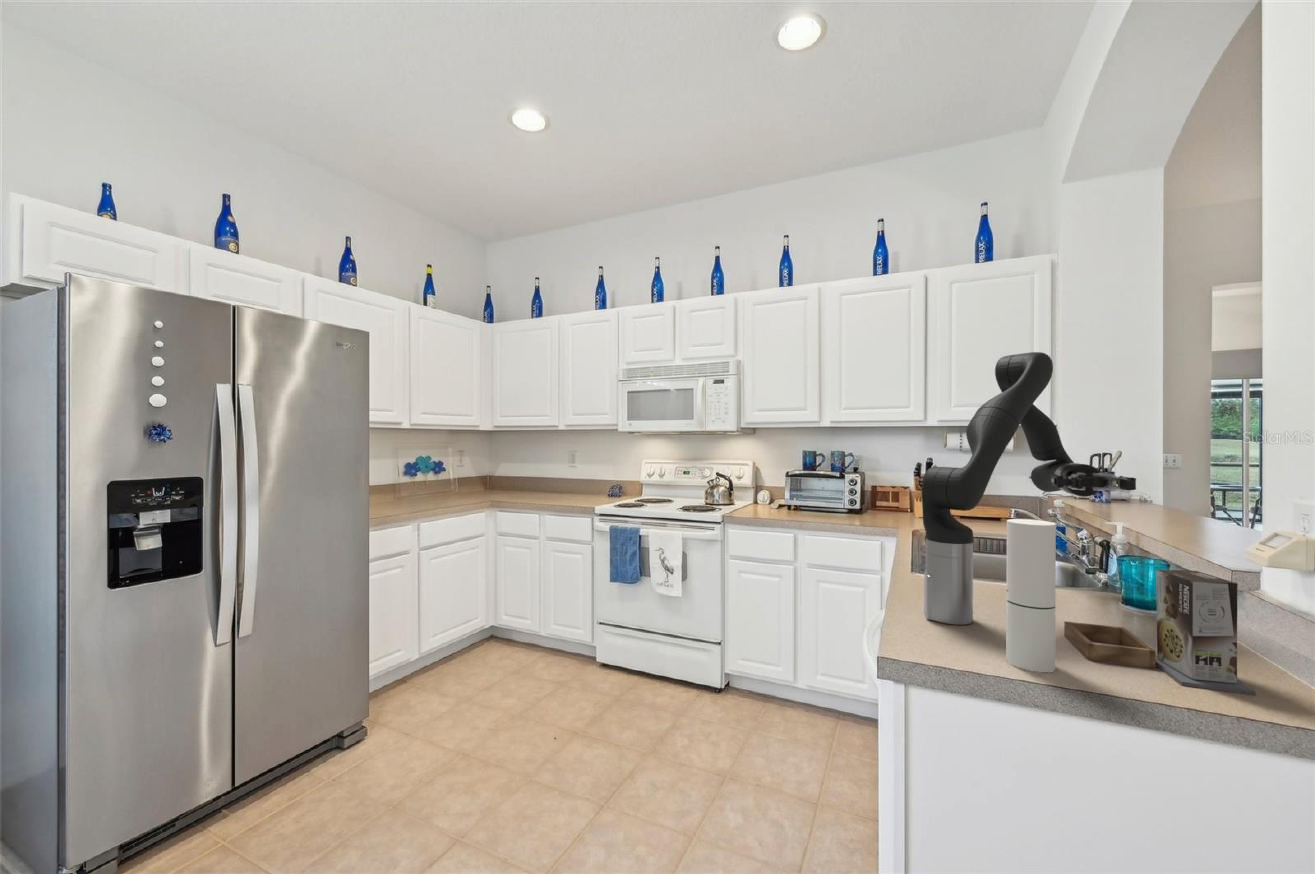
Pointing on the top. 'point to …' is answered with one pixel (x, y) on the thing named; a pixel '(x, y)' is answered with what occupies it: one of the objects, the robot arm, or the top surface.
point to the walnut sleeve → (1126, 654)
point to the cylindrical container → (1031, 594)
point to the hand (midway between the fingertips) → (1104, 484)
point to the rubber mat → (1188, 681)
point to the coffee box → (1197, 624)
